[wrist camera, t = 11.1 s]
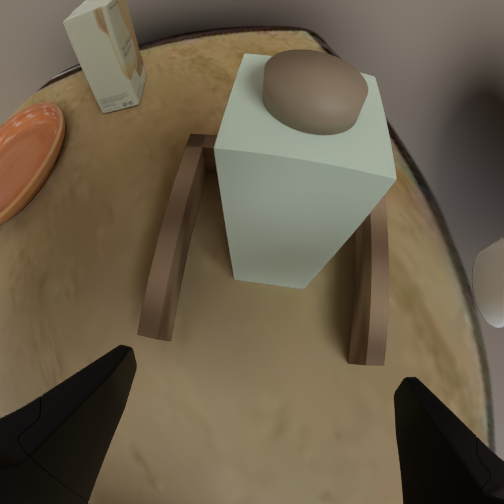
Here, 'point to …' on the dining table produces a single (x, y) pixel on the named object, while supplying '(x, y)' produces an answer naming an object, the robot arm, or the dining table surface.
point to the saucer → (28, 154)
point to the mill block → (299, 163)
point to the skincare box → (108, 52)
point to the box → (177, 244)
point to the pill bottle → (490, 283)
